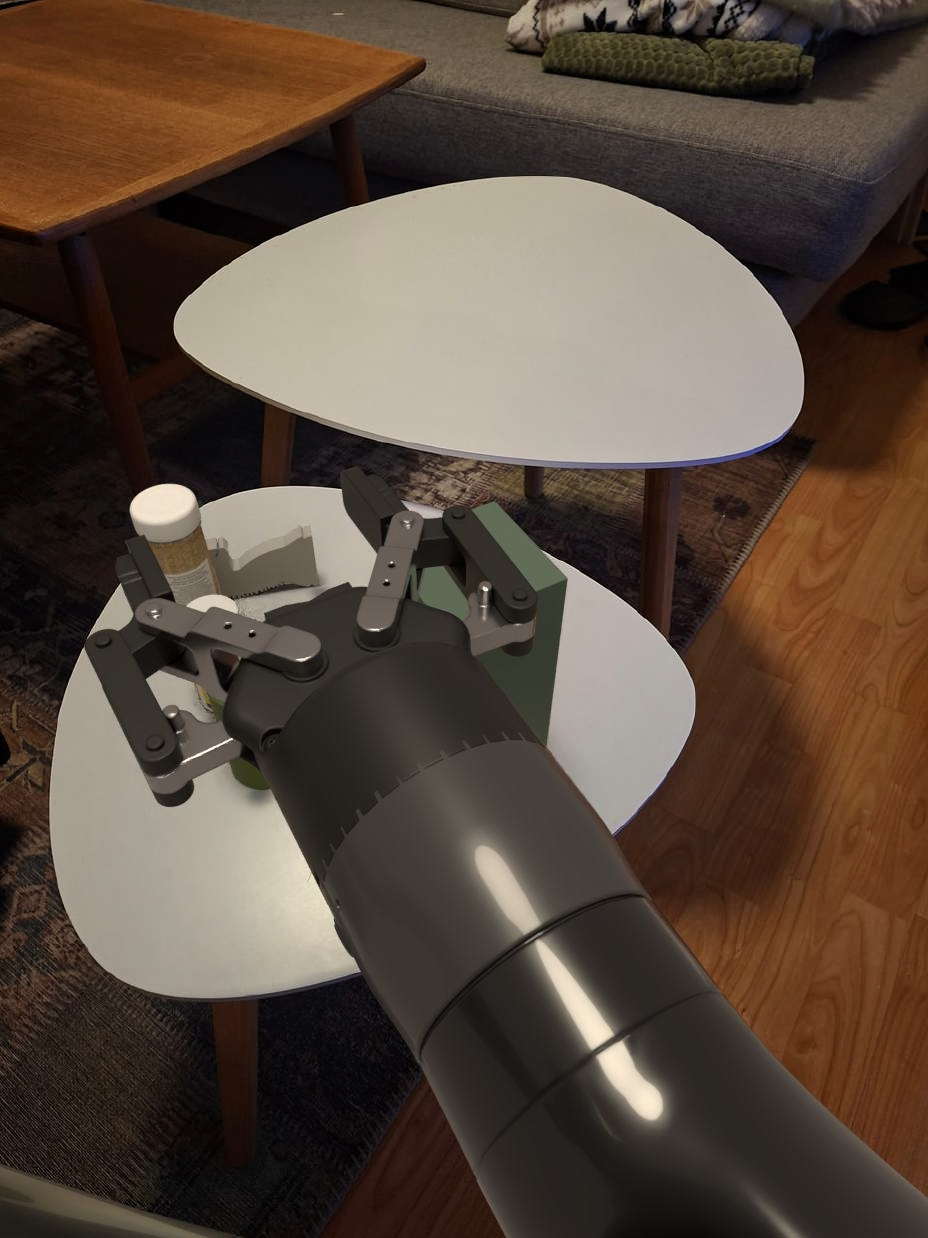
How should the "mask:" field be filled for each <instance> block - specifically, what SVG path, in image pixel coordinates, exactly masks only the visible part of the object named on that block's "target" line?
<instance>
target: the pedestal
mask: <svg viewBox="0 0 928 1238" xmlns="http://www.w3.org/2000/svg"><path fill="white" fill-rule="evenodd" d="M470 509H471V508H470ZM471 510H472V511H473V512H474V513H475V515H476V516H477V517H478V518H479V520H480V521H481V522H482V523H483V525H484V526H485V527H486V529H487V530H488V531H489V532H490V534H491V535H492V536H493V537H494V539H495V540H496V541H497V543H498V544H499V545H500V546H501V548H502V549H503V550H504V551H505V553H506V554H507V555H508V557H509V558H510V559H511V560H512V562H513V563H514V564H515V565H516V567H517V568H518V569H519V571H520V572H521V573H522V574H523V576H524V577H525V578H526V579H527V581H528V582H529V583H530V585H531V586H532V587H533V588H534V590H535V591H536V592H537V595H538V601H537V612H536V622H535V632H534V643H533V649H532V650H531V652H530V653H528V654H527V655H524V656H520V657H515V656H510V655H508V654H506V653H505V652H503V650H502V649H501V648H500V647H499V648H496V649H493V650H491V651H488V652H485V653H482V654H480V655H477V656H475V657H476V658H477V659H478V660H479V661H480V662H481V663H482V664H483V665H484V667H485V668H486V669H487V671H488V672H489V673H490V674H491V676H492V677H493V678H494V680H495V681H496V682H497V684H498V685H499V686H500V687H501V689H502V690H503V691H504V693H505V694H506V695H507V696H508V698H509V699H510V700H511V702H512V703H513V704H514V706H515V707H516V708H517V709H518V711H519V712H520V713H521V715H522V716H523V717H524V719H525V720H526V721H527V722H528V724H529V725H530V726H531V727H532V729H533V730H534V731H535V733H536V734H537V735H538V736H539V738H540V739H541V740H542V742H543V743H544V744H545V745H546V747H547V748H548V739H549V731H550V724H551V716H552V715H551V714H552V706H553V699H554V690H555V684H556V675H557V668H558V659H559V651H560V643H561V638H562V637H561V636H562V629H563V628H562V627H563V619H564V612H565V604H566V597H567V588H568V582H569V581H568V579H569V578H568V577H567V576H566V575H565V573H564V572H563V571H561V569H560V568H559V567H558V566H557V565H556V564H555V563H554V562H553V561H552V560H551V559H550V557H549V556H547V554H546V553H545V552H544V551H543V550H542V549H541V548H540V547H539V546H538V545H537V544H536V543H535V542H534V541H533V540H532V539H531V538H530V536H529V535H527V533H526V532H525V531H524V530H523V529H522V528H521V527H520V526H519V524H517V523H516V522H515V521H514V520H513V518H512V517H511V516H510V515H509V514H508V513H507V512H506V511H505V510H504V509H503V508H502V506H500V505H499V503H497V502H496V501H491V502H488V503H485V504H483V505H479V506H478V507H474V508H472V509H471ZM418 602H419V603H422V604H425V605H428V606H431V607H434V608H437V609H440V610H443V611H446V612H449V613H452V614H453V615H455V616H457V617H458V618H460V619H461V620H462V621H464V620H465V619H466V618H467V617H468V601H467V599H466V598H465V597H464V595H463V594H462V592H461V591H460V589H459V588H458V587H457V585H456V584H455V582H454V581H453V579H452V578H451V577H450V575H449V574H448V572H447V571H446V569H445V568H444V566H439V567H430V568H425V572H424V577H423V581H422V585H421V589H420V594H419V598H418Z"/></svg>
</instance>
